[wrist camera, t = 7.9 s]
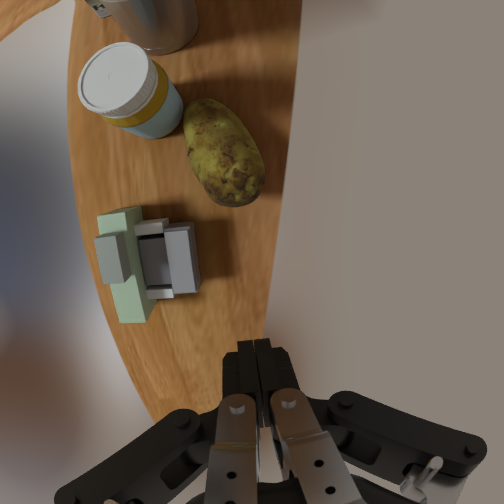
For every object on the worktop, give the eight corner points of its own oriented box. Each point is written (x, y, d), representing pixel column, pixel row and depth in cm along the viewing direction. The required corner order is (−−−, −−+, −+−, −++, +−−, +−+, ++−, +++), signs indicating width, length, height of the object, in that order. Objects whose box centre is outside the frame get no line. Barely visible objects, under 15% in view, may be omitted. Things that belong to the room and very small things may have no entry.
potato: (252, 98, 30) (259, 77, 23) (262, 199, 34) (272, 206, 26) (184, 106, 30) (172, 87, 22) (195, 207, 33) (185, 216, 26)
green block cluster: (116, 209, 32) (87, 219, 24) (166, 202, 33) (147, 210, 25) (134, 302, 36) (113, 333, 28) (180, 299, 36) (169, 331, 28)
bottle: (136, 88, 29) (84, 43, 14) (188, 88, 29) (163, 34, 15) (127, 139, 30) (65, 120, 16) (180, 141, 31) (144, 116, 17)
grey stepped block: (144, 226, 33) (133, 233, 29) (193, 220, 34) (188, 227, 29) (154, 284, 35) (145, 297, 31) (201, 280, 36) (197, 294, 31)
